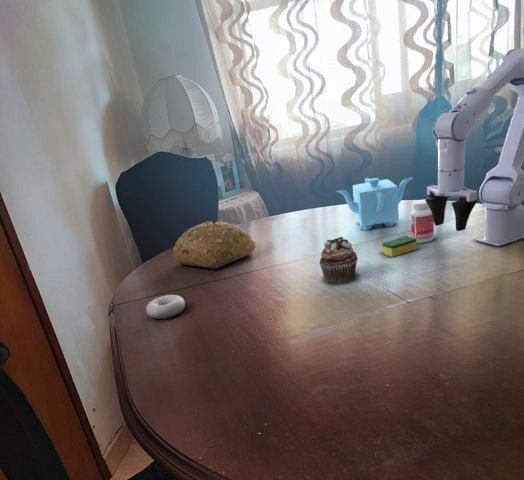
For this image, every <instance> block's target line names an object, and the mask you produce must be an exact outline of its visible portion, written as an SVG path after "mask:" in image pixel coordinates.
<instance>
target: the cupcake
mask: <svg viewBox="0 0 524 480" xmlns="http://www.w3.org/2000/svg"><path fill="white" fill-rule="evenodd" d="M323 245H324V248H323V249H322V251H321V253H320V255H321V257H320V259H319V266H320V268H321V272H322V275H323V278H324V281H325V282H326V283H329V284H344V283H349V282H351V281H352V280H354V279H355V278H356V271H357V264H358V256H357V252H355V251H354V248H353V247H352V246H353V244H352V242H349V239H346V238H344V237H343V236H340V237H336V238H333V239H327V240H326V241H324V243H323Z"/></svg>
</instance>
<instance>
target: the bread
mask: <svg viewBox="0 0 524 480" xmlns="http://www.w3.org/2000/svg"><path fill="white" fill-rule="evenodd" d="M177 239H178V240H176V242H175V245H174V246H173V249H172V250H173V252H172V253H173V254H172V258H173V259H174V260H175V262H177V263H178V264H180V265H185V266H192V267H200V268H208V269H210V270H215V269H220V268H221V267H223V266H226V265H229V264H231V263H233V262H235V261H238V260H240V259H243V258H244V257H246V256H248V255H250V254H251V253H253V252H254V250H255V249H256V243H255V241H254V240H253V239H252V236H251V235H250V234H249V233H247V232H246V230H244V229H243V228H241V227H239V226H236V225H235V223H229V222H226V221H216V220H213V221H205V222H201V223H200V224H199V223H198V224H197V225H194V226H192V227H190V228H188V229H187V230H186V231H184V232H183V233H182V234H181V236H180V237H178V238H177Z"/></svg>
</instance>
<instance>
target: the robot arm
mask: <svg viewBox="0 0 524 480" xmlns="http://www.w3.org/2000/svg"><path fill="white" fill-rule="evenodd" d="M506 86H509V88H511V90H512V91H513V92H515V93H516V94H517V96H518V97H517V101H516V104H515V108H514V111H513V114H512V118H511V121H510V125H509V127H508V131H507V134H506V137H505V141H504V143H503V147H502V150H501V153H500V157H499V161H498V163H497V165H496V166H494V167H493V168H492V169H490V170H489V171H488V172H487V173H486V176H485V179H484V181H483V183H482V184H481V186H480V187H479V191H477V190H473V189H470V188H468V187H466V186H465V161H466V139H467V138H469V136H470V135H471V133H472V130H473V127H474V126H475V124H476V121H478V119H479V118H480V117H482V115H484V113H485V112H487V110H488V109H489V108H490V107H491V105H492V98H493V97H494V96H496V95H498V93H499V92H500V91H502V90H503V88H505V87H506ZM431 133H432V137H433V138H434V140H435V148H436V149H437V185H435V184H433V185H428V186H426V195H428V197H426V198H425V200H426V202H427V204H428V206H429V208H430V210H431V213H432V216H433V220H434V226H437V227H438V226H440V225H444V222H445V216H446V215H445V214H446V213H445V212H446V206H447V202H448V199H449V198H451V199H456V200H455V201H452V202H451V206H452V209H453V212H454V218H455V231H457V232H461V231H464V230H466V228H467V224H468V221H469V218H470V216H471V213H472V211H473V209H474V208H475V206H476V204H477V203H478V198H477V195H478V197H479V201H480V202H481V203H482V204H483V205H482V207H483V208H485V212H484V229H483V236H481V237H477V238H476V239H475V240H476V242H481V243H485V244H489V245H493V246H496V247H501V246H504V245H507V244H510V243H513V242H516V241H519V240H522V239H524V205H523V204H522V202H523V201H524V169H522V166H523V162H524V47H522V48H512V49H509V50H507V52H506V53H505V54H504V55H503V56H502V57H501V58H500V59H499V65H498V66H497V67H496V68H495V70H494V71H493V72H492V73H491V74H490V75H489V77H487V79H485V81H483V83H482V84H481V85H480V86H475V87H472V88H468V89H467V90H466V91H465V95H464V96H463V97H462V98H461V99H460V100H459V101H458V102H457V103H455V104H453V105H452V107H451V109H450V110H449V111H448V112H443V113H441V114H440V115H439V116H438V117H437V119H435V122H434V124H433V128H432V129H431ZM477 192H478V193H477Z"/></svg>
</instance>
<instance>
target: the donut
mask: <svg viewBox="0 0 524 480" xmlns="http://www.w3.org/2000/svg"><path fill="white" fill-rule="evenodd" d="M185 307H186V301H185V299H184V298H183V297H182V296H181V295H176V294H166V295H162V296H159V297H156V298H154V299H153V300H151V301H149V303H147V305H146V308H145V309H146V314H147V315H148V316H149V318H151V319H155V320H163V319H164V320H165V319H169V318H173V317H176V316H177V315H179V314H181V312H183V310H184V309H185Z"/></svg>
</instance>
